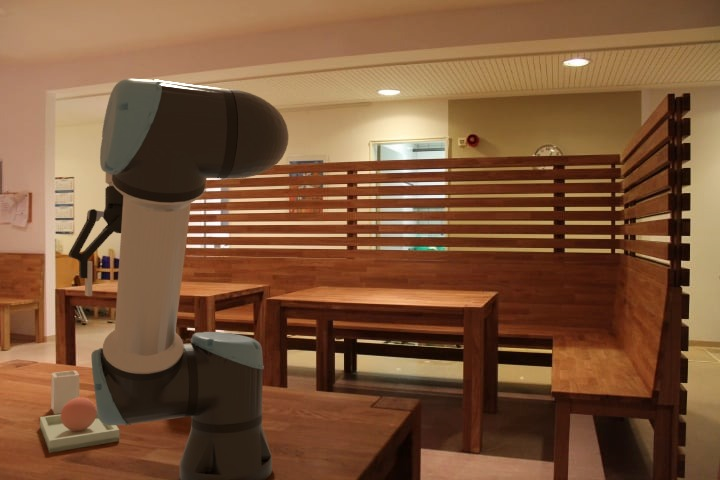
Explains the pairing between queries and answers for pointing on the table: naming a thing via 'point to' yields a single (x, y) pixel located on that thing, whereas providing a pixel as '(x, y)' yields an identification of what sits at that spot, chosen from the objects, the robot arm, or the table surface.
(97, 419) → the tray
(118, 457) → the table surface
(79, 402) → the ball
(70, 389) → the hollow square tube
